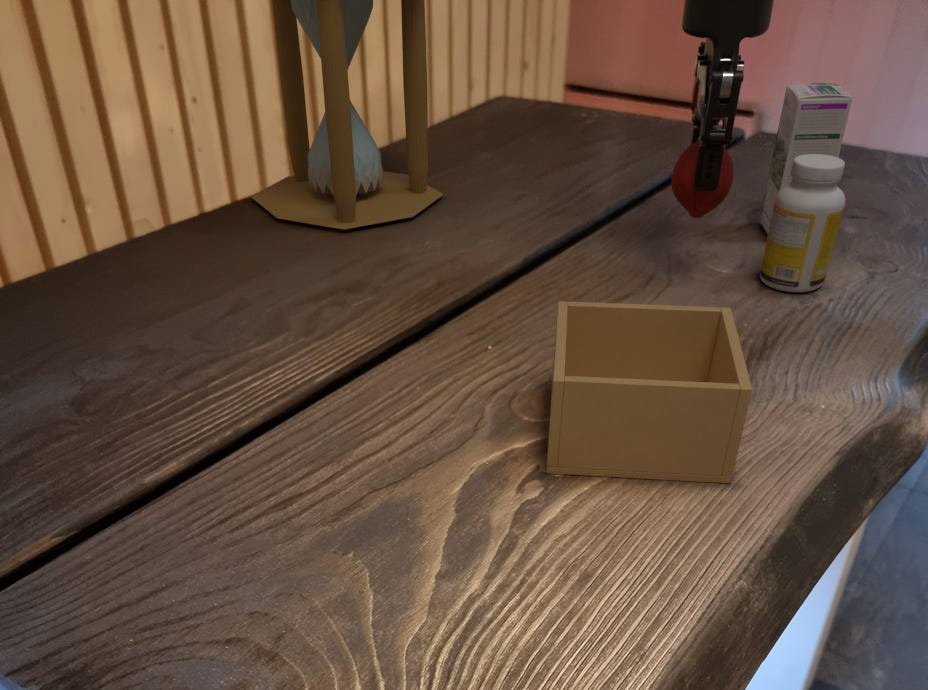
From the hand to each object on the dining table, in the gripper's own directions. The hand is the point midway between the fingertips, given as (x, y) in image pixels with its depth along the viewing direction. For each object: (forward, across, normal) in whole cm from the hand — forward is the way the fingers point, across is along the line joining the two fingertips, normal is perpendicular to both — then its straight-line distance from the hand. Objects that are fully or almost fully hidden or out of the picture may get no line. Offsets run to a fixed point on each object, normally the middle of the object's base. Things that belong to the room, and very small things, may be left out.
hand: (702, 178), depth 90 cm
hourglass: (+9, +22, +40) cm, 47 cm away
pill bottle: (+10, 0, -10) cm, 15 cm away
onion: (+4, 0, 0) cm, 4 cm away
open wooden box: (+10, -32, +6) cm, 34 cm away
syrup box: (+10, +15, -12) cm, 22 cm away
